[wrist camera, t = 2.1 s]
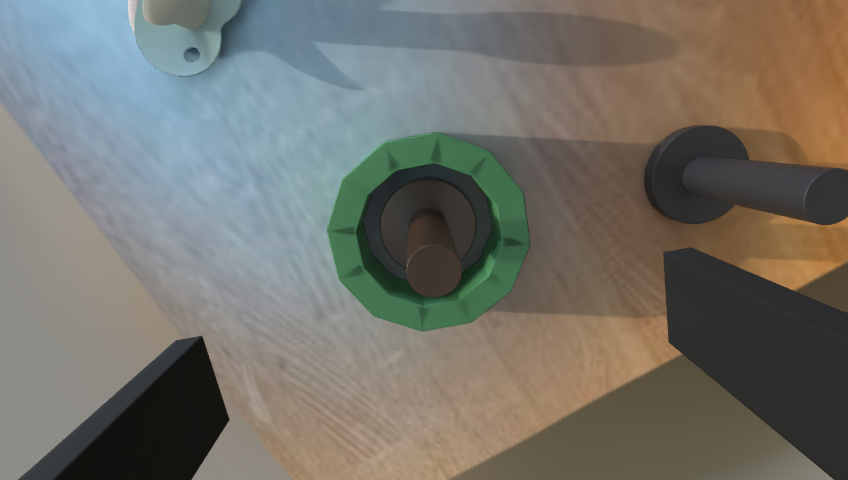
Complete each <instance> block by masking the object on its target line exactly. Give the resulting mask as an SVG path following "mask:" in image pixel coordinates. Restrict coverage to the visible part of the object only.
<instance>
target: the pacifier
mask: <svg viewBox="0 0 848 480" xmlns="http://www.w3.org/2000/svg"><path fill="white" fill-rule="evenodd" d="M242 2H243V0H128V11H129V20H130V23H131V26H132V29H133V32H134V34H135V38H136V42H137V45H138V47H139V49H140V50H141V52H142V54H143V56H144V57H145V58H146V59H147V61H148V62H149V63H150V64H151V65H153V66H154V67H155V68H157V69H158V70H160V71H162V72H164V73H167V74H170V75H175V76H180V77H187V76H194V75H198V74H200V73H202V72H204V71H206V70H207V69H209V68H210V67H211V66H212V65H213V64H214V63H215V61H216V59H217V58H218V56H219V53H220V50H221V43H222V36H221V30H222V27H223V25H224V24H225V23H227V22H229V21H230V20H231V19H232V18H233V17H234V16H235V15H236V14H237V13H238V11H239V9H240V8H241V5H242ZM191 48H197V49H198V50H199V52H200V57H199V59H198V60H197V61H195V62H189V61H188V60H187V58H186V53H187V51H188V50H189V49H191Z"/></svg>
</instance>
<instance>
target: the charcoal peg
mask: <svg viewBox="0 0 848 480" xmlns="http://www.w3.org/2000/svg"><path fill="white" fill-rule="evenodd" d="M645 188H646V192H647V196H648V198H649V200H650V202H651V203H652V205H653V206H654V207H655V209H656V210H657V211H659V212H660V213H661V214H662V215H664V216H666V217H668V218H670V219H673V220H676V221H679V222H682V223H687V224H700V223H705V222H709V221H712V220H715V219H717V218H719V217H720V216H722V215H724V214H725V213H727V212H728V211H729V210H730V209H731V208H732V207H733V206H734V205H738V206H743V207H747V208H751V209H756V210H760V211H764V212H768V213H773V214H777V215H781V216H786V217H790V218H794V219H798V220H803V221H807V222H811V223H816V224H820V225H831V224H835V223H838V222H840V221H842V220H844V219H845V218H847V217H848V170H845V169H840V168H830V167H818V166H807V165H796V164H785V163H774V162H763V161H752V160H749V157H748V154H747V151H746V149H745V147H744V145H743V143H742V142H741V141H740V139H739V138H738V137H736V136H735V135H734V134H733V133H731V132H730V131H728V130H726V129H724V128H721V127H717V126H690V127H686V128H683V129H680V130H678V131H676V132H674V133H672V134H671V135H669V136H668V137H666V138H665V139H664V140H663V141H662V142H661V143H660V144H659V145H658V146H657V147H656V149H655V150H654V152H653V153H652V155H651V157H650V159H649V161H648V164H647V167H646V171H645Z"/></svg>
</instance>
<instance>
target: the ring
mask: <svg viewBox="0 0 848 480" xmlns="http://www.w3.org/2000/svg"><path fill="white" fill-rule="evenodd" d="M435 163H436V164H439V165H442V166H444V167H447V168H450V169H453V170H456V171H458V172H461V173H464V174H467V175H469V176H470V177H471V178H472V180H473V181H474V182H475V183H476V184H477V186H478V187H479V188H480V189H481V190H482V192H483V193H484V194H485V195H486V196H487V202H488V208H489V214H490V221H491V227H492V230H491V232H490V235H489V237H488V240H487V242H486V245H485V248H484V250H483V253H482V255H481V258H480V260H478V261H477V262H476V263H475V264H474V265H472V266H471V267H470V268H469V269H467V270H466V271H465V272H464V273H462V276H461V279H460V282H459V284H458V285H457V287H456V288H455V289H454V290H453V291H452V292H450V293H449V294H447V295H444V296H441V297H436V298H432V297H426V296H423V295H421V294H419V293H418V292H416V291H415V290H414V289H413V288H412V287H411V285H410V284H409V282H408V281H406V280H403V279H400V278H397V277H394V276H392V275H391V274H390V273H389V272H388V271H387V270H386V269H385V268H384V267H383V265H382V264H381V263H380V262H379V261H378V260H377V259H376V258H375V257H374V256H373V255H372V254H371V252H370V249H369V245H368V240H367V236H366V232H365V227H364V223H363V218H364V215H365V212H366V209H367V206H368V203H369V200H370V197H371V194H372V192H373V191H374V190H375V189H377V188H378V187H379V186H380V185H381V184H382V183H383V182H385V181H386V180H387V179H388V178H389V177H390V176H391V175H392V174H394V173H395V172H396V171H398V170H403V169H409V168H414V167H419V166H424V165H429V164H435ZM327 233H328V237H329V242H330V246H331V250H332V254H333V258H334V262H335V266H336V270H337V274H338V278H339V279H340V282H341V283H342V284H343V285H344V286H345V287H346V288H347V289H348V290H349V291H350V292H351V293H352V294H353V295H354V296H355V297H356V298H357V299H358V300H359V301H360V302H361V303H362V304H363V305H364V307H365V308H366V309H367V310H368V311H369V312H370V313H371V314H372V315H373V316H375V317H378V318H381V319H384V320H387V321H390V322H394V323H397V324H400V325H403V326H406V327H410V328H413V329H416V330H419V331H428V330H433V329H439V328H444V327H450V326H455V325H461V324H466V323H471V322H473V321H474V320H475V319H476V318H478V317H479V316H480V315H482V314H483V313H484V312H485V311H487V310H488V309H489V308H490V307H492V306H493V305H494V304H495V303H497V302H498V301H499V300H500V299H502V298H503V297H504V296H505V295H507V294H508V293H509V292H510V291H511V290H512V288H513V285H514V283H515V280H516V278H517V276H518V273H519V271H520V268H521V266H522V264H523V261H524V259H525V256H526V254H527V251H528V249H529V247H530V237H529V230H528V222H527V215H526V208H525V201H524V194H523V191H522V190H521V189H520V188H519V186H518V185H517V184H516V183H515V182H514V180H513V179H512V178H511V177H510V175H509V174H508V173H507V172H506V170H505V169H504V168H503V167H502V165H501V164H500V163H499V162H498V161H497V159H496V158H495V157H494V156H493V154H492V153H491V152H490V151H488V150H486V149H483V148H480V147H477V146H475V145H472V144H469V143H466V142H464V141H461V140H458V139H455V138H453V137H450V136H447V135H444V134H441V133H437V132H432V133H427V134H422V135H417V136H411V137H406V138H401V139H396V140H391V141H387V142H384V143H383V144H381V145H380V146H379V147H378V148H377V149H376V150H374V151H373V152H372V153H371V154H370V155H369V156H368V157H367V158H366V159H364V160H363V161H362V162H361V163H360V164H359V165H358V166H357V167H355V168H354V169H353V170H352V171H351V172H350V173H349V174H348V175H347V176H345V177H344V178H343V180H342V182H341V185H340V188H339V191H338V195H337V198H336V201H335V204H334V208H333V211H332V214H331V217H330V221H329V224H328V227H327Z"/></svg>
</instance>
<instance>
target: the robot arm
mask: <svg viewBox="0 0 848 480" xmlns="http://www.w3.org/2000/svg"><path fill="white" fill-rule="evenodd" d="M663 255H664V272H665V288H666V305H667V322H668V339H669V343H670V344H671V345H673V346H674V347H675V348H676V349H677V350H679V351H680V352H681V353H682V354H683V355H685V356H686V357H687V358H688V359H689V360H691V361H692V362H693V363H694V364H695V365H697V366H698V367H699V368H701V369H702V370H703V371H704V372H705V373H706V374H707V375H709V376H710V377H711V378H713V379H714V380H715V381H716V382H717V383H718V384H720V385H721V386H722V387H723V388H724V389H726V390H727V391H728V392H729V393H730V394H732V395H733V396H734V397H735V398H736V399H738V400H739V401H740V402H741V403H742V404H744V405H745V406H746V407H747V408H748V409H750V410H751V411H752V412H753V413H754V414H756V415H757V416H758V417H759V418H760V419H762V420H763V421H764V422H765V423H767V424H768V425H769V426H770V427H771V428H773V429H774V430H775V431H776V432H777V433H779V434H780V435H781V436H782V437H783V438H785V439H786V440H787V441H788V442H789V443H791V444H792V445H793V446H794V447H795V448H797V449H798V450H799V451H800V452H801V453H803V454H804V455H805V456H806V457H807V458H809V459H810V460H811V461H813V463H815V464H816V465H817V466H818V467H820V468H821V469H822V470H823V471H824V472H826V473H827V474H828V475H829V476H830V477H832V478H833V479H834V480H848V313H846V312H842V311H840V310H838V309H835V308H833V307H830V306H828V305H826V304H823V303H821V302H819V301H816V300H814V299H812V298H809V297H807V296H805V295H802V294H800V293H798V292H795V291H793V290H790V289H788V288H786V287H783V286H781V285H779V284H776V283H774V282H771V281H769V280H767V279H764V278H762V277H760V276H757V275H755V274H752V273H750V272H748V271H745V270H743V269H741V268H738V267H736V266H734V265H731V264H729V263H726V262H724V261H722V260H719V259H717V258H715V257H712V256H710V255H707V254H705V253H703V252H700V251H698V250H696V249H693V248H685V249H680V250H674V251H669V252H663ZM228 421H229V417H228V414H227V411H226V408H225V404H224V401H223V399H222V395H221V392H220V389H219V386H218V383H217V380H216V377H215V374H214V371H213V368H212V364H211V361H210V358H209V355H208V352H207V349H206V346H205V343H204V340H203V337H202V336H198V337H193V338H187V339H182V340H176V341H175V342H174V343H173V344H171V345H170V346H169V347H168V348H167V349H166V350H165V351H163V352H162V353H161V354H160V355H159V356H158V357H157V358H156V359H155V360H153V361H152V362H151V363H150V364H149V365H148V366H146V367H145V368H144V369H143V370H142V371H141V372H140V373H139V374H137V375H136V376H135V377H134V378H133V379H132V380H131V381H129V382H128V383H127V384H126V385H125V386H124V387H123V388H122V389H120V390H119V391H118V392H117V393H116V394H115V395H114V396H113V397H112V398H110V399H109V400H108V401H107V402H106V403H105V404H103V405H102V406H101V407H100V408H99V409H98V410H97V411H96V412H94V413H93V414H92V415H91V416H90V417H89V418H88V419H87V420H85V421H84V422H83V423H82V424H81V425H80V426H79V427H77V428H76V429H75V430H74V431H73V432H72V433H71V434H69V435H68V436H67V437H66V438H65V439H64V440H63V441H62V442H60V443H59V444H58V445H57V446H56V447H55V448H54V449H53V450H51V451H50V452H49V453H48V454H47V455H46V456H45V457H44V458H42V459H41V460H40V461H39V462H38V463H37V464H36V465H35V466H33V467H32V468H31V469H30V470H29V471H28V472H26V473H25V474H24V475H23V476H22V477H21V478H20V479H19V480H192V478H193V476H194V475H195V473H196V471H197V470H198V468H199V467H200V465H201V464H202V462H203V460H204V459H205V457H206V456H207V454H208V453H209V451H210V450H211V448H212V446H213V445H214V443H215V442H216V440H217V439H218V437H219V435H220V434H221V432H222V431H223V429H224V428H225V426H226V424H227V423H228Z"/></svg>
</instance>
